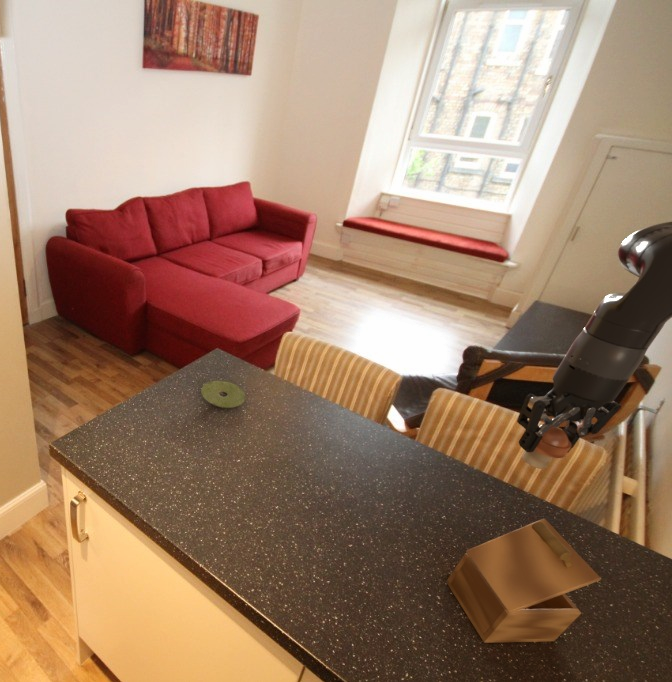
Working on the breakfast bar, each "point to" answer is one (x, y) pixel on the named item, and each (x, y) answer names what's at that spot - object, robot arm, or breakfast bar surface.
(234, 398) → the green disc with hole
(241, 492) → the breakfast bar surface
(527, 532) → the lid
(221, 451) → the breakfast bar surface
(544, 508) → the breakfast bar surface
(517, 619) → the breadbox
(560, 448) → the mushroom
